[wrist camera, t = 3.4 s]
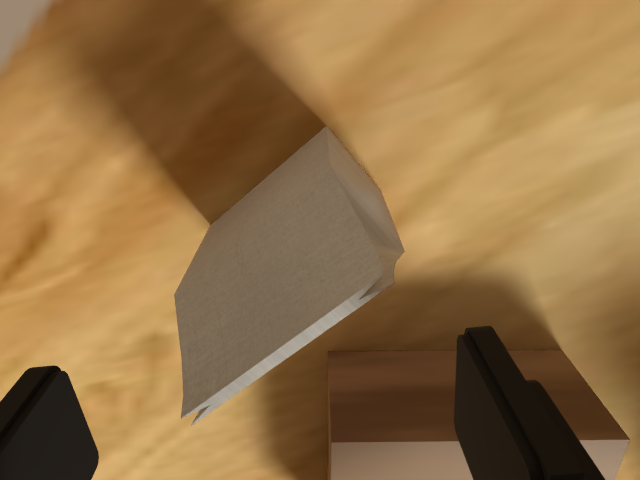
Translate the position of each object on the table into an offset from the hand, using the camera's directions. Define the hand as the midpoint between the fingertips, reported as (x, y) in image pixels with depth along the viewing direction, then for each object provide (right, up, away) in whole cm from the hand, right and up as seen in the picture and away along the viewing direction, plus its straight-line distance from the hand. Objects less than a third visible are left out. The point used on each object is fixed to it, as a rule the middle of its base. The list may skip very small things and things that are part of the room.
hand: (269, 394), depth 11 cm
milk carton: (0, +5, +10) cm, 11 cm away
